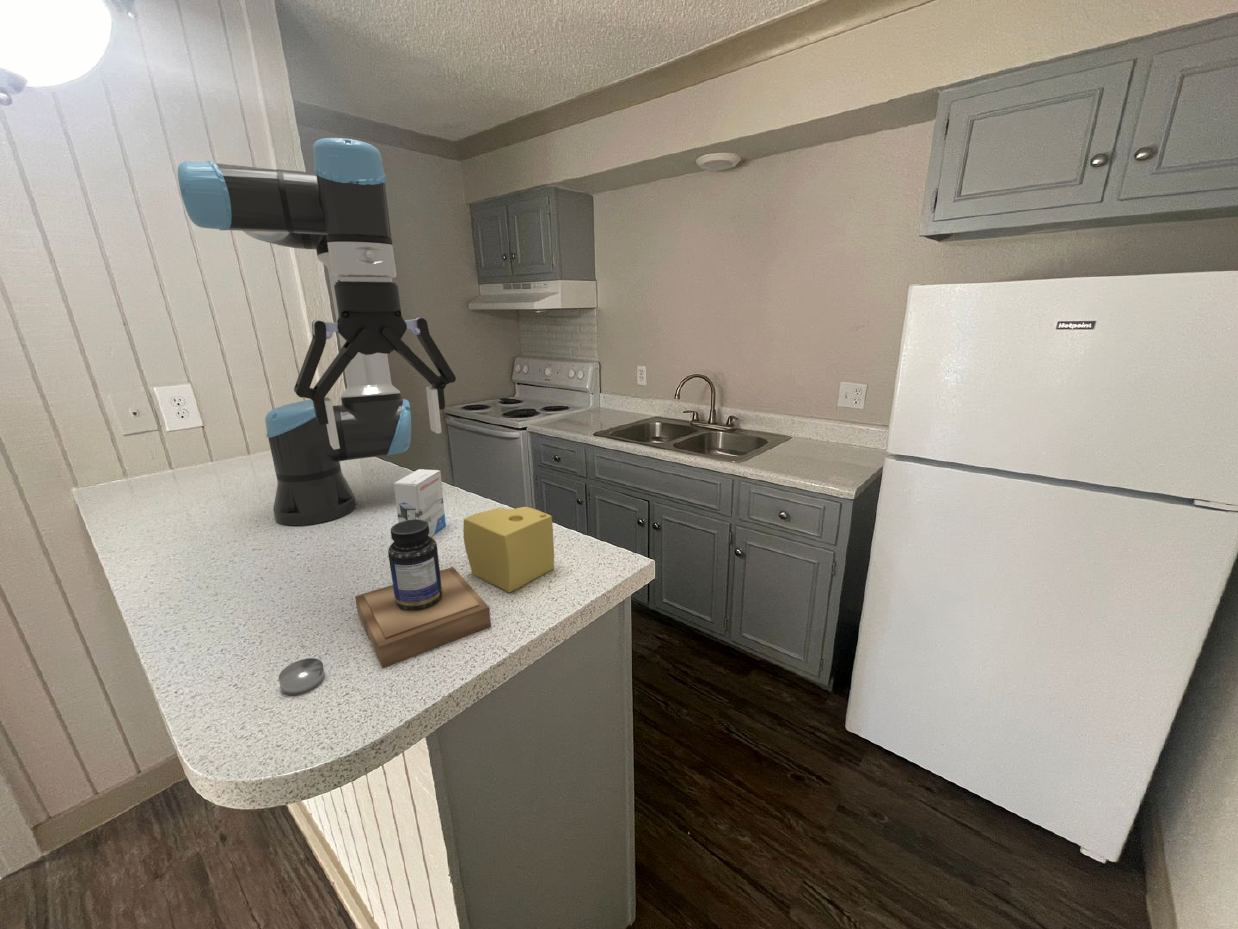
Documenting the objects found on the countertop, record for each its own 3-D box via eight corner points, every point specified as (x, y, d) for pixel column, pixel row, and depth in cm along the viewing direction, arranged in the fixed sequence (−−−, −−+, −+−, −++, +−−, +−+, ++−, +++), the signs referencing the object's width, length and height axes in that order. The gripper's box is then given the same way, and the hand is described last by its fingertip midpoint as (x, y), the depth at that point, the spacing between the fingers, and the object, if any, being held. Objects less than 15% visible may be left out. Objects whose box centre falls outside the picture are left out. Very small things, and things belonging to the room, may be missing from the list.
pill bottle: (405, 588, 74) (395, 517, 71) (448, 587, 74) (440, 516, 71) (388, 612, 68) (376, 536, 65) (435, 611, 68) (425, 535, 65)
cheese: (516, 551, 92) (512, 499, 89) (558, 570, 85) (556, 514, 82) (466, 574, 84) (460, 518, 81) (508, 596, 78) (504, 536, 75)
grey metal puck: (280, 680, 61) (277, 668, 60) (322, 665, 63) (319, 653, 63) (283, 702, 57) (280, 689, 57) (328, 686, 60) (325, 673, 59)
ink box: (425, 523, 104) (418, 468, 100) (448, 525, 103) (441, 469, 99) (399, 542, 96) (391, 482, 92) (424, 544, 95) (416, 484, 91)
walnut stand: (358, 614, 73) (354, 594, 72) (454, 583, 81) (452, 565, 80) (382, 667, 63) (378, 644, 62) (490, 626, 71) (489, 605, 70)
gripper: (250, 278, 56) (289, 461, 63) (470, 281, 71) (482, 431, 78) (247, 278, 62) (282, 446, 69) (451, 281, 76) (463, 420, 83)
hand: (388, 438), depth 73 cm, fingers open, 13 cm apart
